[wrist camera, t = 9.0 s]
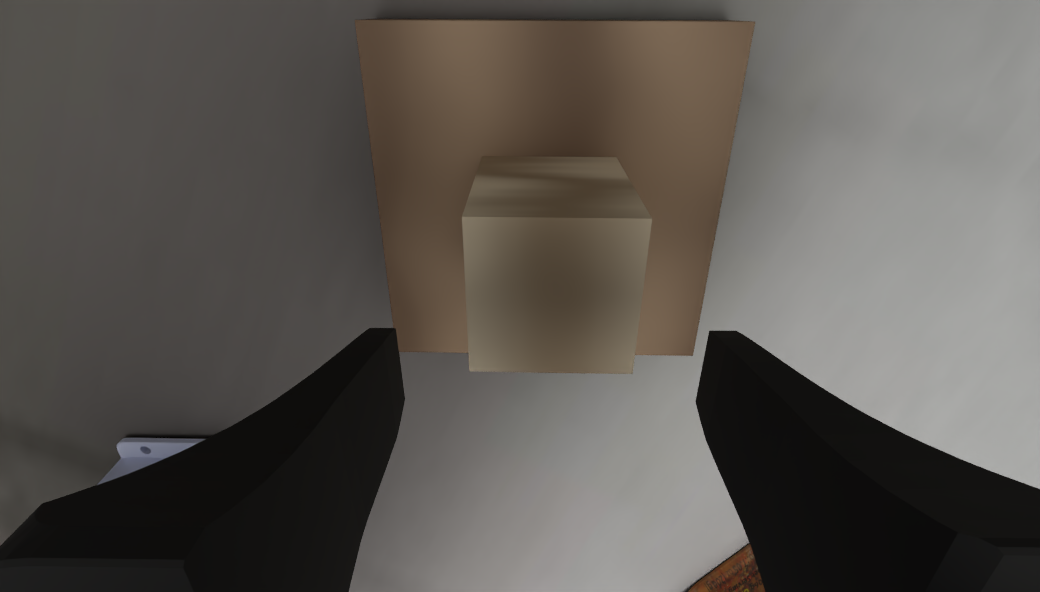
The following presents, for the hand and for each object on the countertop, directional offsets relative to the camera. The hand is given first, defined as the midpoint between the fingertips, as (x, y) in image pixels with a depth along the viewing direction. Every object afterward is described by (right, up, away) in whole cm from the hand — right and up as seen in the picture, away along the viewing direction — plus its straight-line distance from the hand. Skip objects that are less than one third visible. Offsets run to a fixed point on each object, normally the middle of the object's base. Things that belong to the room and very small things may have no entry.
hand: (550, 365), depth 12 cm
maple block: (0, +4, +7) cm, 8 cm away
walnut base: (0, +6, +9) cm, 10 cm away
